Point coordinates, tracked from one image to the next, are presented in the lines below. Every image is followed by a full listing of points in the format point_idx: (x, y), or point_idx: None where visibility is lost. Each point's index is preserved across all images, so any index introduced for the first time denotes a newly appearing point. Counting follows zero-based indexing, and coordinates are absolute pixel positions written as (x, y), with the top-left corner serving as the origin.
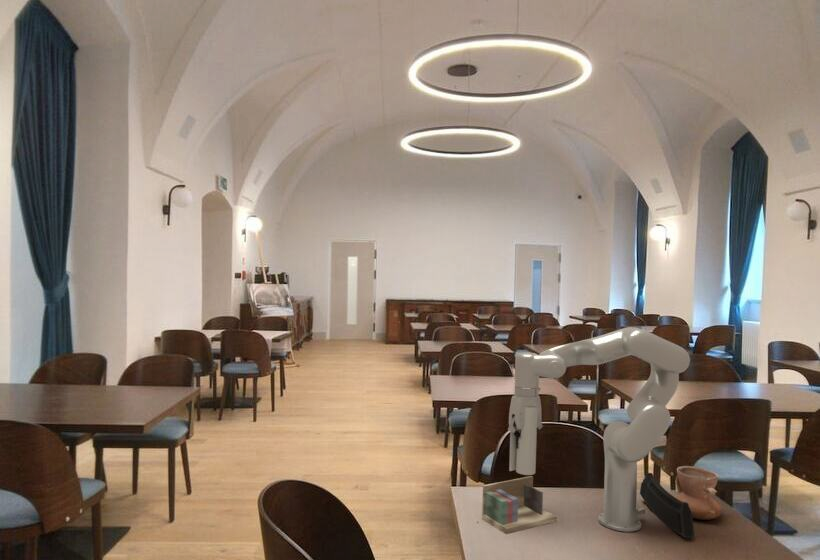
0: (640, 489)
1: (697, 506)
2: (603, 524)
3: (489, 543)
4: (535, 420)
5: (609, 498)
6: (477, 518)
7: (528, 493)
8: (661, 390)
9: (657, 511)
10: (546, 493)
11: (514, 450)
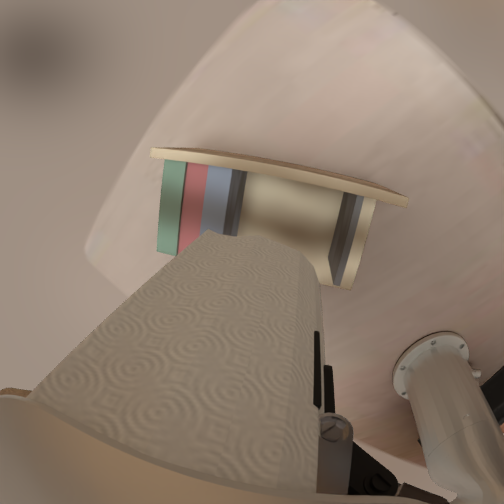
0: None
1: (500, 426)
2: (399, 360)
3: (127, 253)
4: None
5: (420, 406)
6: (187, 140)
7: (348, 211)
8: None
9: (492, 385)
10: (485, 159)
11: (202, 282)
